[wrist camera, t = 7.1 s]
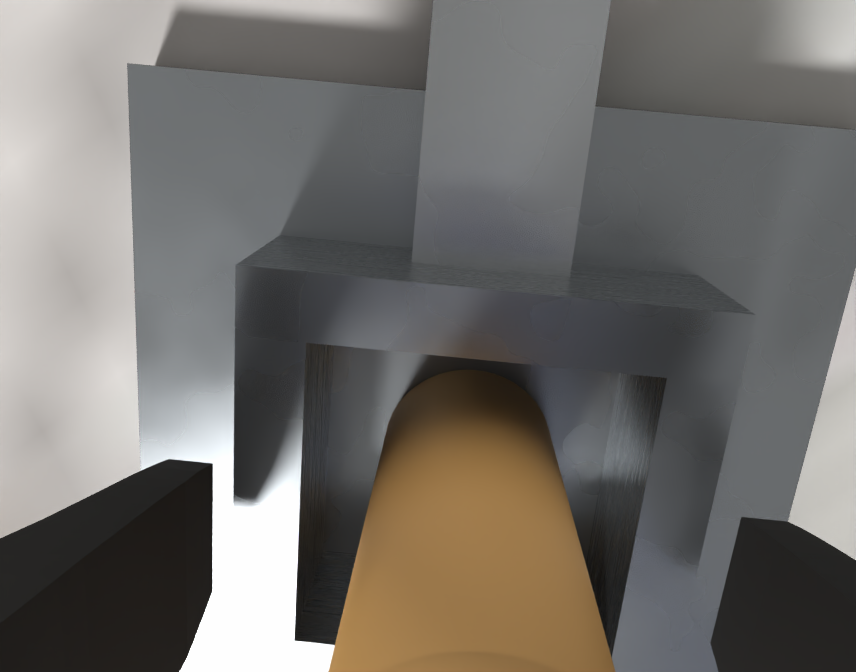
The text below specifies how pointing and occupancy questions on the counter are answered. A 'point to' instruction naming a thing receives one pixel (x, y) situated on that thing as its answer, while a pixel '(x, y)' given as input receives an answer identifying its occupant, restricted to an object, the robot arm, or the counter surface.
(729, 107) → the counter surface
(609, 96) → the counter surface
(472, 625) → the round-ended pin
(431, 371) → the grey slotted socket block
